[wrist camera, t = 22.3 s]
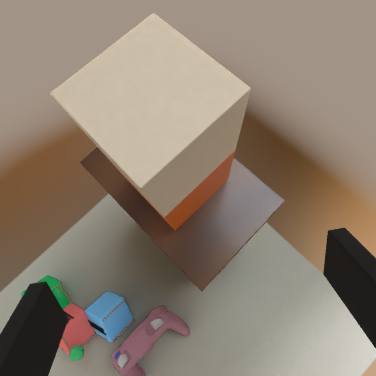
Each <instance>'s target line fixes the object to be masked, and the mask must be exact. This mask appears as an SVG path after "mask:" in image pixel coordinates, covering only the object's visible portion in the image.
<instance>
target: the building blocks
mask: <svg viewBox="0 0 376 376" xmlns="http://www.w3.org/2000/svg"><path fill="white" fill-rule="evenodd" d="M44 281H46V282H47V283H48V285H49V287H50V289H51V290H52V292H53V294H54V295H55V297H56V299H57V300H58V302H59V304H60V305H61V307H62V309H63V310H64V312H65V314H66V316H67V317H68V319H69V320H68V322H67V325H66V328H65V331H64V333H63V336H62V339H61V342H60V344H59V347H60V348H62V349H63V350H64V351H65V352H66V353H67V354H68V355H69V356H70V359H71V360H80V359H81V358H82V357H83V355H84V352H83V351H84V349H83V347H82V345H84V343H86V341H87V340H88V341H89V338H91V336H94V333H95V334H96V333H97V334H99V335H100V336H102V337H103V338H105V339H106V340H108V341H109V342H115V341H114V340H115V339H117V337H119V335H121V334H122V332H124V330H126V328H128V325H129V326H130V323H132V321H134V319H133V316H132V314H131V312H130V310H129V308H128V305H127V303H126V300H125V299H124V298H123V297H121V296H119V295H116V294H114V293H112V292H110V291H107V292H106V293H104V294H103V295H102V296H101V297H100V298H98V299H97V300H96V301H95V302H94V303H93V304H91V305H90V306H89V307H88V308H87V309H86V310H83V309H81V308H80V307H78V306H76V305H75V304H73V303H71V301H70V299H69V297H68V295H67V293H66V291H65V289H64V288H63V286H62V284H61V282H60V281H59V280H57V279H55V278H53V277H51V276H46V277H44V278H43V279H41V280H40V281H38V282H37V283H39V282H44ZM26 290H27V289H26ZM26 290H25V291H24V292H22V296H23V295H24V293H25V292H26Z"/></svg>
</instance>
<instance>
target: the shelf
mask: <svg viewBox="0 0 376 376" xmlns="http://www.w3.org/2000/svg"><path fill="white" fill-rule="evenodd" d="M80 163H81V164H82V165H83V166H84V167H85V168H86V170H87V171H88V172H89V173H90V174H91V175H92V176H93V177H94V178H95V179H96V180H97V181H98V182H99V183H100V184H101V185H102V186H103V188H104V189H105V190H106V191H107V192H108V193H109V194H110V195H111V196H112V197H113V198H114V199H115V200H116V201H117V202H118V203H119V205H120V206H121V207H122V208H123V209H124V210H125V211H126V212H127V213H128V214H129V215H130V216H131V217H132V218H133V219H134V220H135V221H136V223H137V224H138V225H139V226H140V227H141V228H142V229H143V230H144V231H145V232H146V233H147V234H148V235H149V236H150V237H151V238H152V239H153V241H154V242H155V243H156V244H157V245H158V246H159V247H160V248H161V249H162V250H163V251H164V252H165V253H166V254H167V255H168V256H169V257H170V259H171V260H172V261H173V262H174V263H175V264H176V265H177V266H178V267H179V268H180V269H181V270H182V271H183V272H184V273H185V274H186V275H187V277H188V278H189V279H190V280H191V281H192V282H193V283H194V284H195V285H196V286H197V287H198V288H199V289H200V290H201V291H203V290H204V288H205V287H206V286H207V285H208V284H209V283H210V282H211V281H212V280H213V279H214V278H215V277H216V275H217V274H218V273H219V272H220V271H221V270H222V269H223V268H224V267H225V266H226V265H227V264H228V262H229V261H230V260H231V259H232V258H233V257H234V256H235V255H236V254H237V253H238V252H239V251H240V249H241V248H242V247H243V246H244V245H245V244H246V243H247V242H248V241H249V240H250V239H251V238H252V236H253V235H254V234H255V233H256V232H257V231H258V230H259V229H260V228H261V227H262V226H263V225H264V224H265V222H266V221H267V220H268V219H269V218H270V217H271V216H272V215H273V214H274V213H275V212H276V211H277V209H278V208H279V207H280V206H281V205H282V204H283V203H284V202H285V200H284V199H282V198H281V197H280V196H279V195H278V194H277V193H275V192H274V191H273V190H272V189H271V188H269V187H268V186H267V185H266V184H265V183H263V182H262V181H261V180H260V179H259V178H258V177H256V176H255V175H254V174H253V173H252V172H250V171H249V170H248V169H247V168H246V167H245V166H243V165H242V164H241V163H240V162H239V161H238V160H236V159H235V158H234V157H233V161H232V165H231V169H230V173H229V177H228V181H227V182H226V183H225V184H224V185H223V186H222V187H220V188H219V189H218V190H217V191H216V192H215V193H214V194H213V195H212V196H211V197H210V198H209V199H208V200H207V201H206V202H205V203H204V204H203V205H202V206H201V207H200V208H199V209H198V210H197V211H196V212H195V213H194V214H193V215H191V216H190V217H189V218H188V219H187V220H186V221H185V222H184V223H183V224H182V225H181V226H180V227H179V228H178V229H177V230H176V231H175V230H174V229H173V228H172V227H171V226H170V225H169V224H168V223H167V222H166V221H165V219H164V218H163V217H162V216H161V215H160V214H159V213H158V212H157V211H156V210H155V209H154V208H153V207H152V206H151V205H150V204H149V203H148V202H147V200H146V199H145V198H144V197H143V196H142V195H141V194H140V193H139V192H138V191H137V190H136V189H135V188H134V187H133V186H132V185H131V184H130V182H129V181H128V180H127V179H126V178H125V177H124V176H123V175H122V174H121V173H120V171H119V170H118V169H117V168H116V167H115V166H114V165H113V164H112V163H111V161H110V160H109V159H108V158H107V157H106V156H105V155H104V154H103V153H102V151H101V150H100V149H99V148H98V147H97V148H96V149H95V150H94V151H92V152H91V153H90V154H89V155H88V156H87V157H86V158H85V159H83V160H82V161H81V162H80Z"/></svg>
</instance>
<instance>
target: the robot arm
mask: <svg viewBox="0 0 376 376" xmlns="http://www.w3.org/2000/svg"><path fill="white" fill-rule="evenodd" d="M323 274H324V276H325V277H326V278H327V280H328V281H329V283H330V284H331V286H332V287H333V288H334V290H335V291H336V293H337V294H338V296H339V297H340V298H341V300H342V301H343V303H344V304H345V305H346V307H347V308H348V310H349V311H350V313H351V314H352V315H353V317H354V318H355V320H356V321H357V323H358V324H359V325H360V327H361V328H362V330H363V331H364V332H365V334H366V335H367V337H368V338H369V340H370V341H371V342H372V344H373V345H374V347H375V348H376V258H375V257H374V256H373V255H372V254H371V253H370V252H369V251H367V249H366V248H365V247H364V246H363V245H362V244H361V243H360V242H359V241H358V240H357V239H356V238H354V236H352V234H351V233H349V231H347V230H346V228H340V229H335V230H329V231H328V235H327V245H326V254H325V264H324V273H323ZM68 320H69V319H68V317H67V316H66V314H65V312H64V310H63V309H62V307H61V305H60V304H59V302H58V300H57V299H56V297H55V295H54V294H53V292H52V290H51V289H50V287H49V285H48V283H47V282H46V281H44V282H39V283H33V284H30V285H29V287H28V288H27V290H26V292H25V293H24V295H23V297H22V298H21V300H20V302H19V304H18V305H17V307H16V309H15V310H14V312H13V314H12V316H11V317H10V319H9V321H8V322H7V324H6V326H5V327H4V329H3V331H2V333H1V334H0V376H48V374H49V372H50V369H51V366H52V363H53V361H54V358H55V355H56V353H57V350H58V347H59V344H60V342H61V339H62V336H63V333H64V331H65V328H66V325H67V322H68Z"/></svg>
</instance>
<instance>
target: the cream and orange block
mask: <svg viewBox="0 0 376 376" xmlns="http://www.w3.org/2000/svg"><path fill="white" fill-rule="evenodd" d="M250 90H251V88H250V87H249V86H247V85H246V84H245V83H244V82H242V81H241V80H240V79H238V78H237V77H236V76H235V75H233V74H232V73H230V72H229V71H228V70H227V69H225V68H224V67H223V66H221V65H220V64H219V63H217V62H216V61H215V60H214V59H212V58H211V57H210V56H209V55H207V54H206V53H205V52H204V51H202V50H201V49H200V48H198V47H197V46H196V45H194V44H193V43H192V42H191V41H189V40H188V39H187V38H185V37H184V36H183V35H181V34H180V33H179V32H178V31H176V30H175V29H174V28H172V27H171V26H170V25H169V24H167V23H166V22H165V21H163V20H162V19H161V18H160V17H158V16H157V15H156V14H154V13H153V14H151V15H150V16H149V17H148V18H146V19H145V20H144V21H142V22H141V23H140V24H138V26H136V27H135V28H133V29H132V30H131V31H129V32H128V33H127V34H126V35H124V36H123V37H122V38H120V39H119V40H118V41H117V42H115V43H114V44H113V45H111V46H110V47H109V48H107V49H106V50H105V51H104V52H102V53H101V54H100V55H98V56H97V57H96V58H95V59H93V60H92V61H91V62H89V63H88V64H87V65H85V66H84V67H83V68H82V69H80V70H79V71H78V72H77V73H75V74H74V75H73V76H71V77H70V78H69V79H67V80H66V81H65V82H64V83H62V84H61V85H60V86H58V87H57V88H56V89H54V90H53V91H52V92H51V93H50V95H51V96H52V97H53V98H54V99H55V100H56V101H57V103H58V104H59V105H60V106H61V107H62V108H63V109H64V110H65V111H66V112H67V114H68V115H69V116H70V117H71V118H72V119H73V120H74V121H75V123H76V124H77V125H78V126H79V127H80V128H81V129H82V130H83V131H84V133H85V134H86V135H87V136H88V137H89V138H90V139H91V140H92V141H93V143H94V144H95V145H96V146H97V147H98V148H99V149H100V150H101V151H102V153H103V154H104V155H105V156H106V157H107V158H108V159H109V160H110V161H111V163H112V164H113V165H114V166H115V167H116V168H117V169H118V170H119V171H120V173H121V174H122V175H123V176H124V177H125V178H126V179H127V180H128V181H129V182H130V184H131V185H132V186H133V187H134V188H135V189H136V190H137V191H138V192H139V193H140V194H141V195H142V196H143V197H144V198H145V199H146V200H147V202H148V203H149V204H150V205H151V206H152V207H153V208H154V209H155V210H156V211H157V212H158V213H159V214H160V215H161V216H162V217H163V218H164V219H165V221H166V222H167V223H168V224H169V225H170V226H171V227H172V228H173V229H174V230H175V231H176V230H177V229H178V228H179V227H180V226H181V225H182V224H183V223H184V222H185V221H186V220H187V219H188V218H189V217H190V216H191V215H193V214H194V213H195V212H196V211H197V210H198V209H199V208H200V207H201V206H202V205H203V204H204V203H205V202H206V201H207V200H208V199H209V198H210V197H211V196H212V195H213V194H214V193H215V192H216V191H217V190H218V189H219V188H220V187H222V186H223V185H224V184H225V183H226V182H227V181H228V177H229V173H230V169H231V165H232V161H233V157H234V153H235V149H236V145H237V141H238V137H239V133H240V129H241V125H242V122H243V117H244V114H245V110H246V106H247V102H248V97H249V94H250Z"/></svg>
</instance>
